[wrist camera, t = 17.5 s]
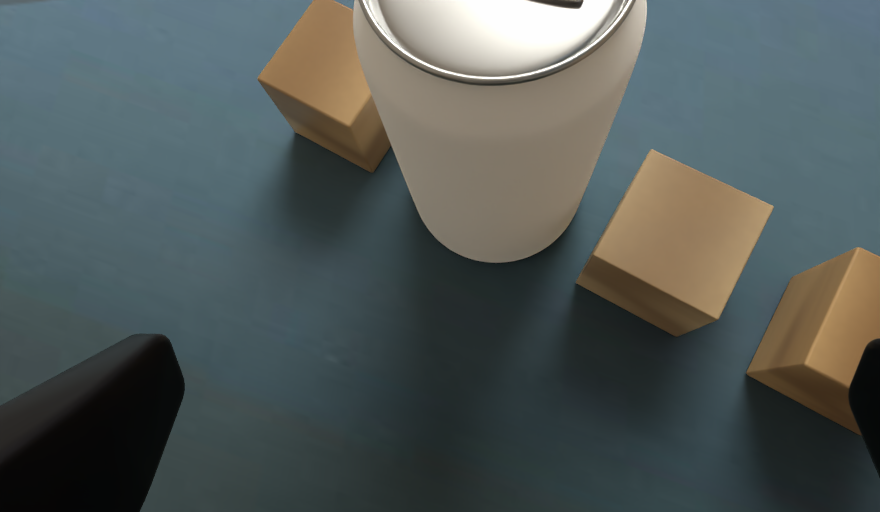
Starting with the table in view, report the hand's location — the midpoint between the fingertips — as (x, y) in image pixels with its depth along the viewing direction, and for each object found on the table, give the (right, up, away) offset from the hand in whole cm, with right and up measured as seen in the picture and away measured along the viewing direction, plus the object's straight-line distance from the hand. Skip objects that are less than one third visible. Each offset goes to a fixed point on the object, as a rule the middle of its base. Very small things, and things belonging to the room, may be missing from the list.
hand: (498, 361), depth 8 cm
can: (+1, +4, +15) cm, 16 cm away
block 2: (+7, +1, +14) cm, 15 cm away
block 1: (-4, +7, +16) cm, 18 cm away
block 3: (+13, -2, +12) cm, 18 cm away
